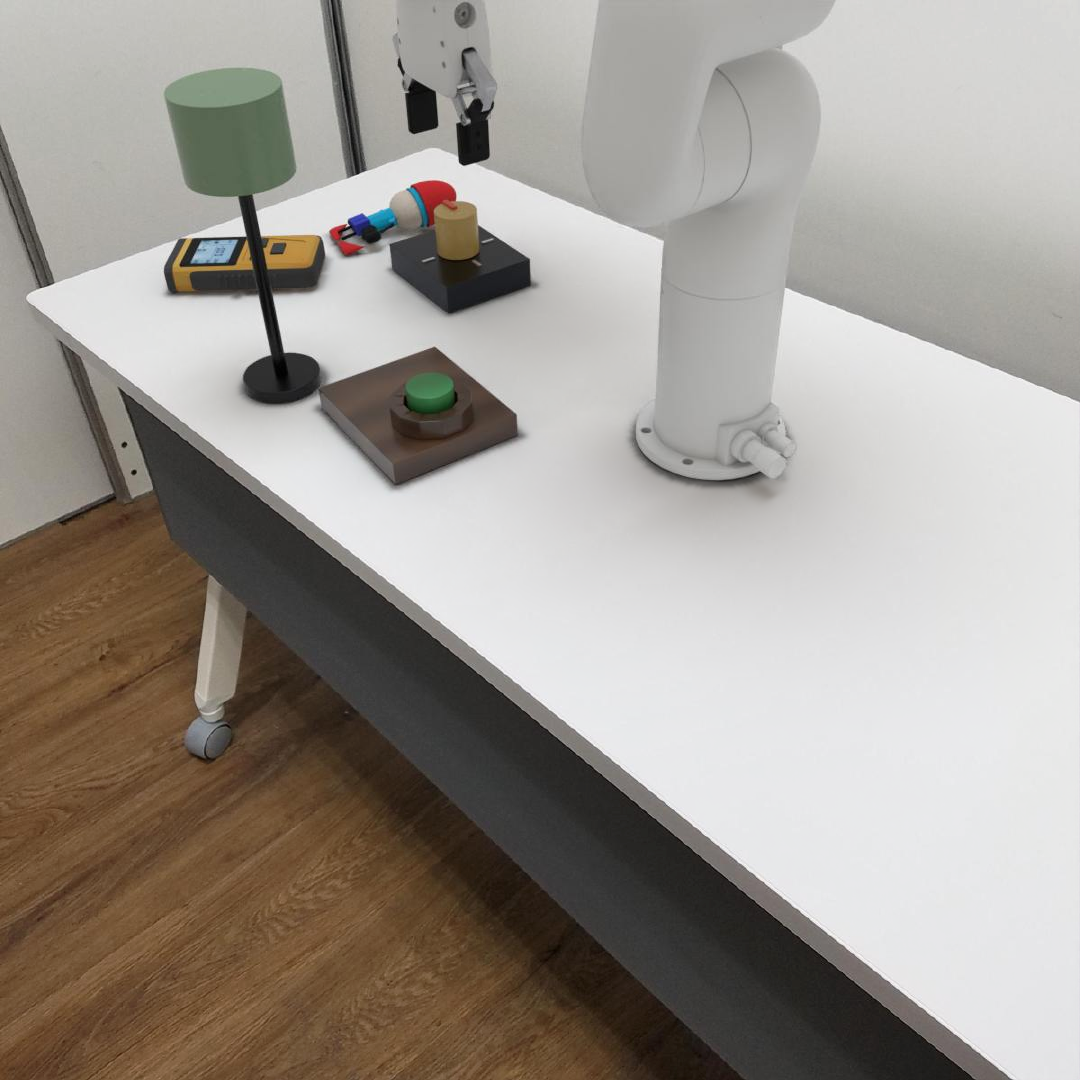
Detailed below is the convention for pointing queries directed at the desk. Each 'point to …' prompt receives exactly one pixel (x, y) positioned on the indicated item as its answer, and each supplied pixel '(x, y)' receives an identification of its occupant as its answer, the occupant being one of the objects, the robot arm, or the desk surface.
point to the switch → (430, 393)
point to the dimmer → (456, 230)
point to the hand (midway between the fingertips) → (448, 145)
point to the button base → (416, 416)
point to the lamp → (243, 188)
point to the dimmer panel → (460, 270)
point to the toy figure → (397, 214)
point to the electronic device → (243, 263)
